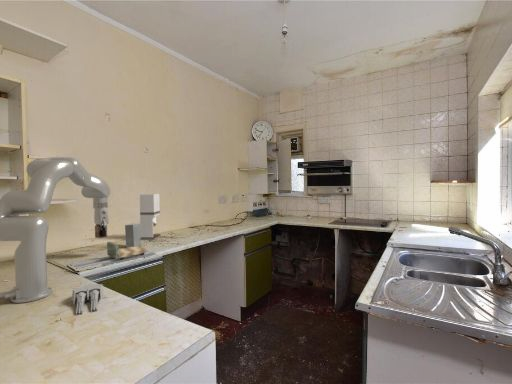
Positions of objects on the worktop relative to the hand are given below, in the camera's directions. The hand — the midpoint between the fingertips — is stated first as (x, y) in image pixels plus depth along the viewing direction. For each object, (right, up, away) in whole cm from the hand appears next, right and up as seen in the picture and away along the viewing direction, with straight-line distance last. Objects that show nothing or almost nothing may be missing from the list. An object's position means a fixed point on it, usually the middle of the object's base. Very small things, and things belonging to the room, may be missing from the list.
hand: (101, 235), depth 161 cm
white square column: (+11, -10, +48) cm, 50 cm away
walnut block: (0, -1, 0) cm, 1 cm away
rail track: (+13, -13, -9) cm, 20 cm away
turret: (+31, -15, -62) cm, 71 cm away
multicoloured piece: (+18, -12, -3) cm, 21 cm away
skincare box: (+10, -12, +22) cm, 26 cm away
